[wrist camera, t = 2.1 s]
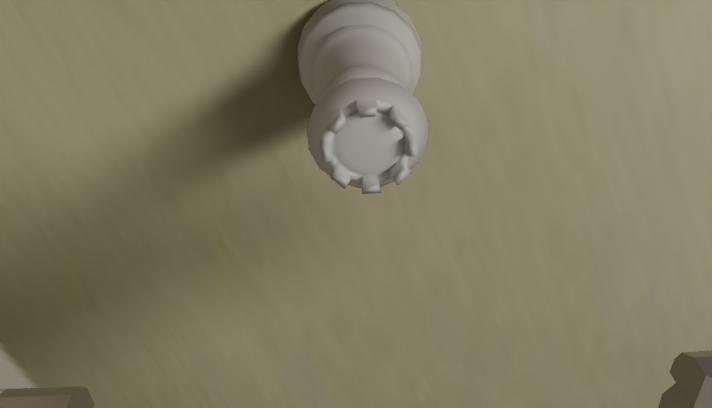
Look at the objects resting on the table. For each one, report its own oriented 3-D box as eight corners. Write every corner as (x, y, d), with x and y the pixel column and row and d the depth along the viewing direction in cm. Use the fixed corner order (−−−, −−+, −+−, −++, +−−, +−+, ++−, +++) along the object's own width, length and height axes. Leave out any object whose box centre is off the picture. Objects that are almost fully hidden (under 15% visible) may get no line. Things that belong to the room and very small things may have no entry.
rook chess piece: (272, 41, 22) (244, 137, 16) (372, -39, 21) (390, 28, 14) (347, 130, 24) (352, 251, 18) (443, 63, 23) (489, 165, 16)
